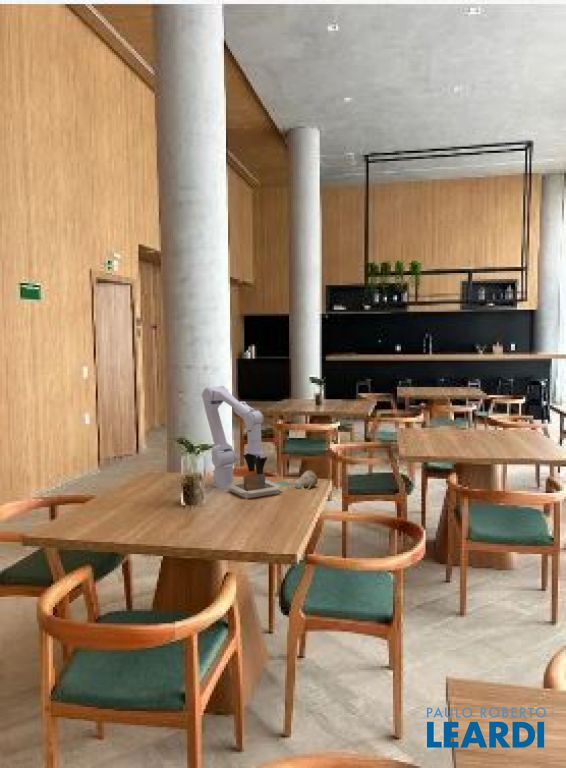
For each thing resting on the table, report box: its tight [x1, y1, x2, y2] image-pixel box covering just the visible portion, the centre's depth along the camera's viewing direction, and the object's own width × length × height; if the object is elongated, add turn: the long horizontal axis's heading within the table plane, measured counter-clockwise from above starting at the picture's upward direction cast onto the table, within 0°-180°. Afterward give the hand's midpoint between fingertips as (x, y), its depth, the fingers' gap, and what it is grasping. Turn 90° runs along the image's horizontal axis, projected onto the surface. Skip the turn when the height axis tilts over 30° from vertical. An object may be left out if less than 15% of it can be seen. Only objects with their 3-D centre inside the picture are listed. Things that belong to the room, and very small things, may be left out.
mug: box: [294, 469, 319, 491], centre depth 258 cm, size 8×10×10 cm
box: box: [242, 473, 266, 491], centre depth 251 cm, size 4×8×7 cm, turn 119°
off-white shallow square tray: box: [226, 479, 284, 500], centre depth 251 cm, size 21×19×3 cm
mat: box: [275, 480, 295, 487], centre depth 264 cm, size 8×8×1 cm
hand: (255, 472), depth 251 cm, fingers open, 7 cm apart
